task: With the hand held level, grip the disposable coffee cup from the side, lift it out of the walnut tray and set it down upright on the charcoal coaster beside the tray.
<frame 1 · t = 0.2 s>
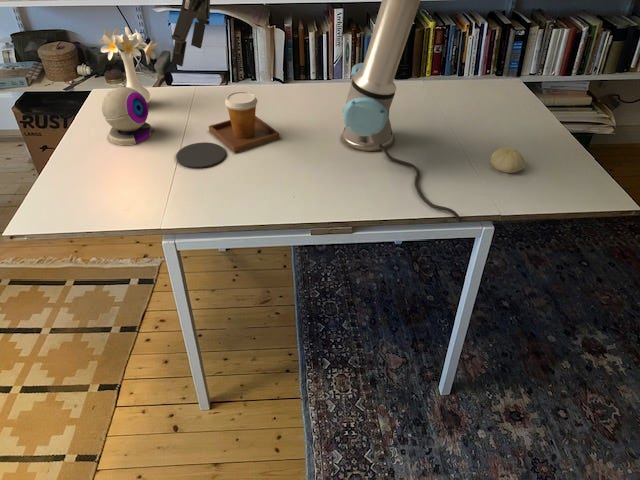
hand: (186, 55, 144), 28 cm above the table, tool tilted 20°, fingers open, 13 cm apart
tray: (244, 135, 168), on the table
coaster: (201, 155, 158), on the table
disposable coffee cup: (244, 134, 168), resting on tray
sea urchin shell: (506, 167, 154), on the table
webcam: (131, 135, 167), on the table
flower vase: (140, 106, 183), on the table
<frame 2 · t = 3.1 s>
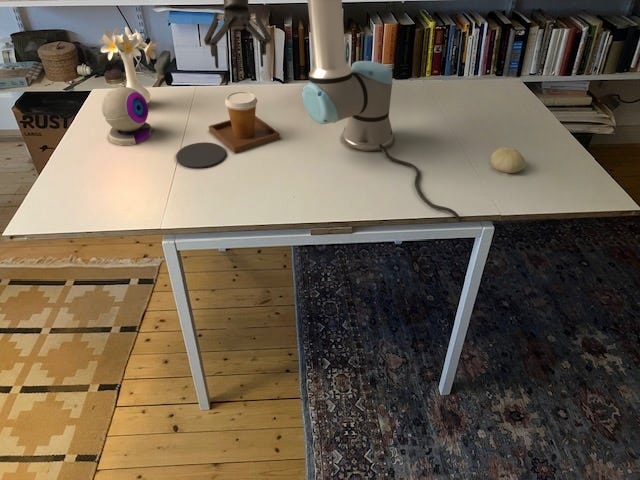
hand: (239, 65, 165), 18 cm above the table, tool tilted 45°, fingers open, 13 cm apart
nothing on the table moved.
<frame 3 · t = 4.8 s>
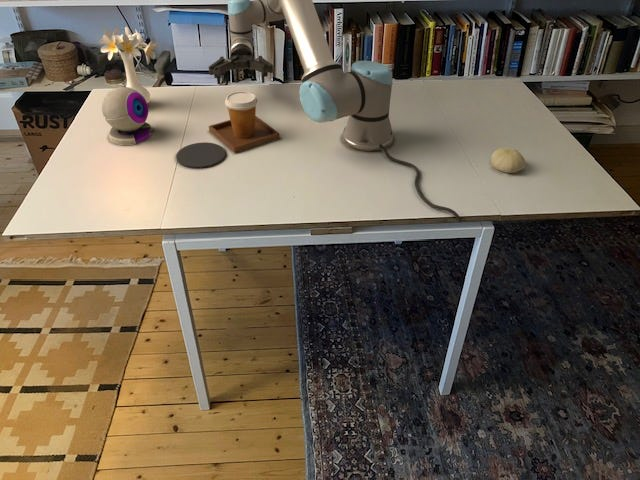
hand: (240, 79, 167), 14 cm above the table, tool horizontal, fingers open, 13 cm apart
nothing on the table moved.
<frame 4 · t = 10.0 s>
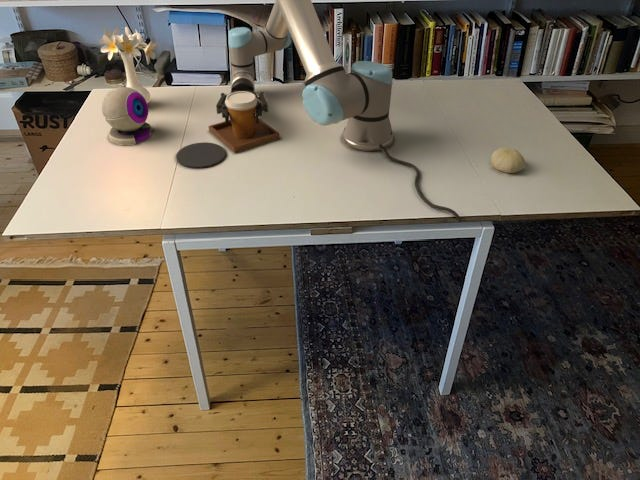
hand: (242, 120, 159), 7 cm above the table, tool horizontal, fingers closed on disposable coffee cup, 8 cm apart
disposable coffee cup: (244, 134, 168), resting on tray, touching gripper
everything else where it was.
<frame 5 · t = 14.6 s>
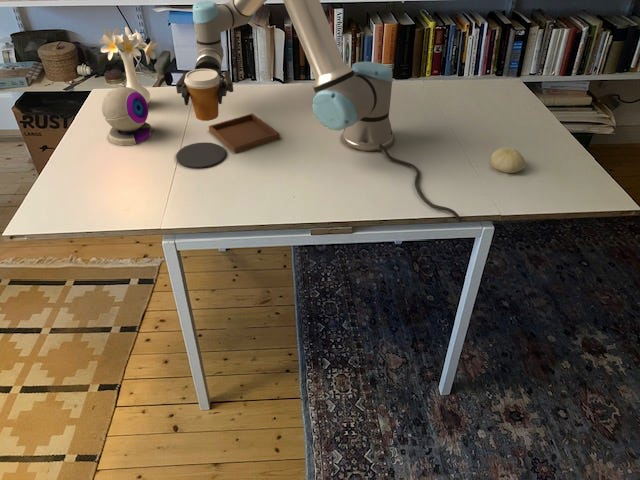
hand: (202, 99, 145), 18 cm above the table, tool horizontal, fingers closed on disposable coffee cup, 8 cm apart
disposable coffee cup: (207, 116, 154), point 11 cm above the table, touching gripper
everything else where it was.
when the fingers open (8 cm above the table, at t = 19.4 s): disposable coffee cup stays where it is, resting on coaster.
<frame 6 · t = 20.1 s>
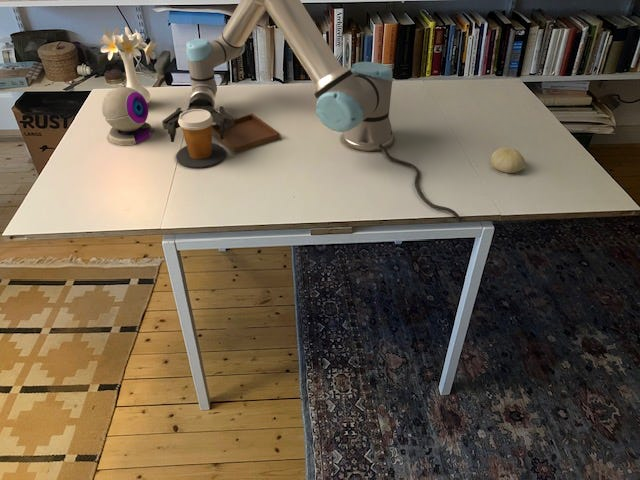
hand: (196, 136, 150), 8 cm above the table, tool horizontal, fingers open, 13 cm apart
disposable coffee cup: (200, 154, 157), resting on coaster
everything else where it was.
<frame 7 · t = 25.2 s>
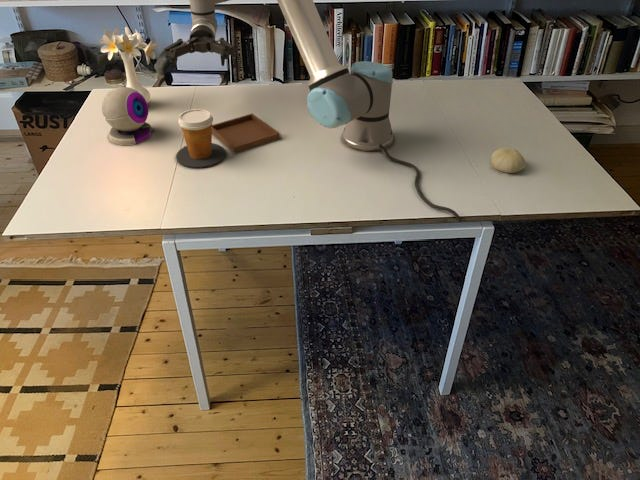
hand: (197, 62, 152), 24 cm above the table, tool horizontal, fingers open, 13 cm apart
nothing on the table moved.
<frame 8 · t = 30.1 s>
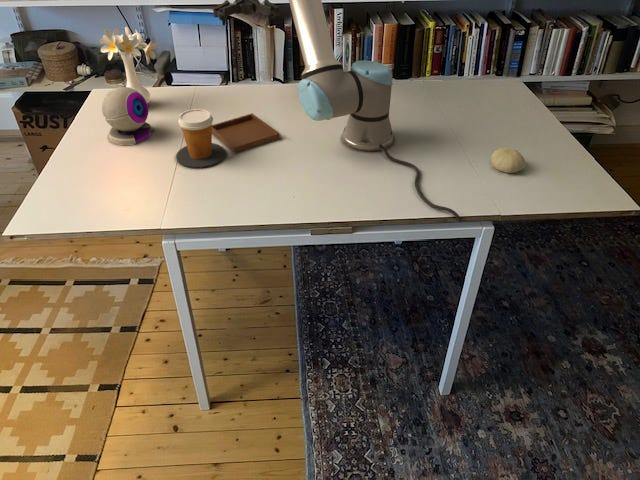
hand: (246, 20, 161), 30 cm above the table, tool horizontal, fingers open, 13 cm apart
nothing on the table moved.
at the end: disposable coffee cup 0.1 cm from the coaster (horizontally); disposable coffee cup tilted 0°; disposable coffee cup touching coaster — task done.
